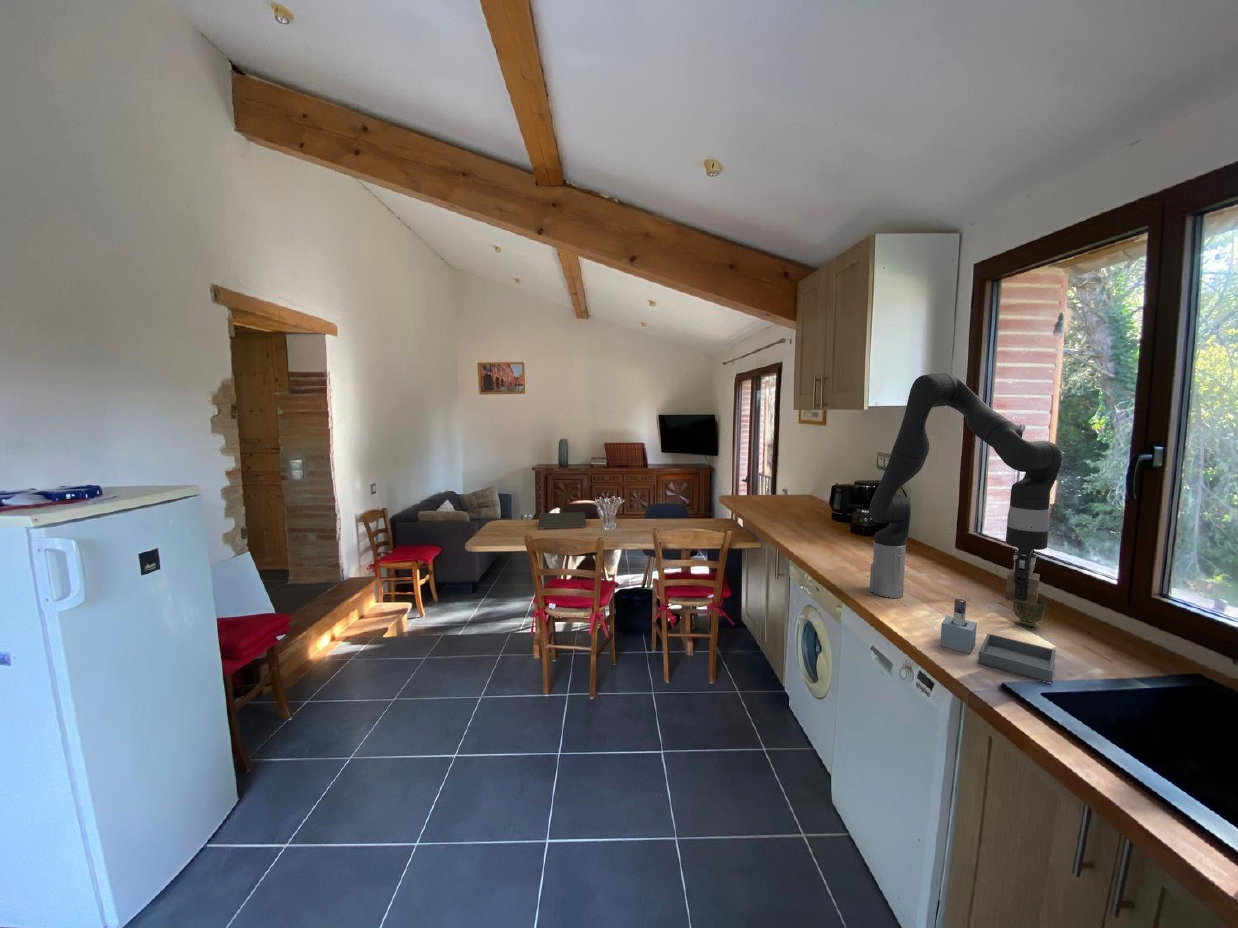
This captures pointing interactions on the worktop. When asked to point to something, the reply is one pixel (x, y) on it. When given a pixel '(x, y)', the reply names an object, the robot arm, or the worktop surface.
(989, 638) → the tray
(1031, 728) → the worktop surface
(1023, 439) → the robot arm
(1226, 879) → the worktop surface
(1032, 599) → the walnut block
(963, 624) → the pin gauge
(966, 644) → the grey socket cube
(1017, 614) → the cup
